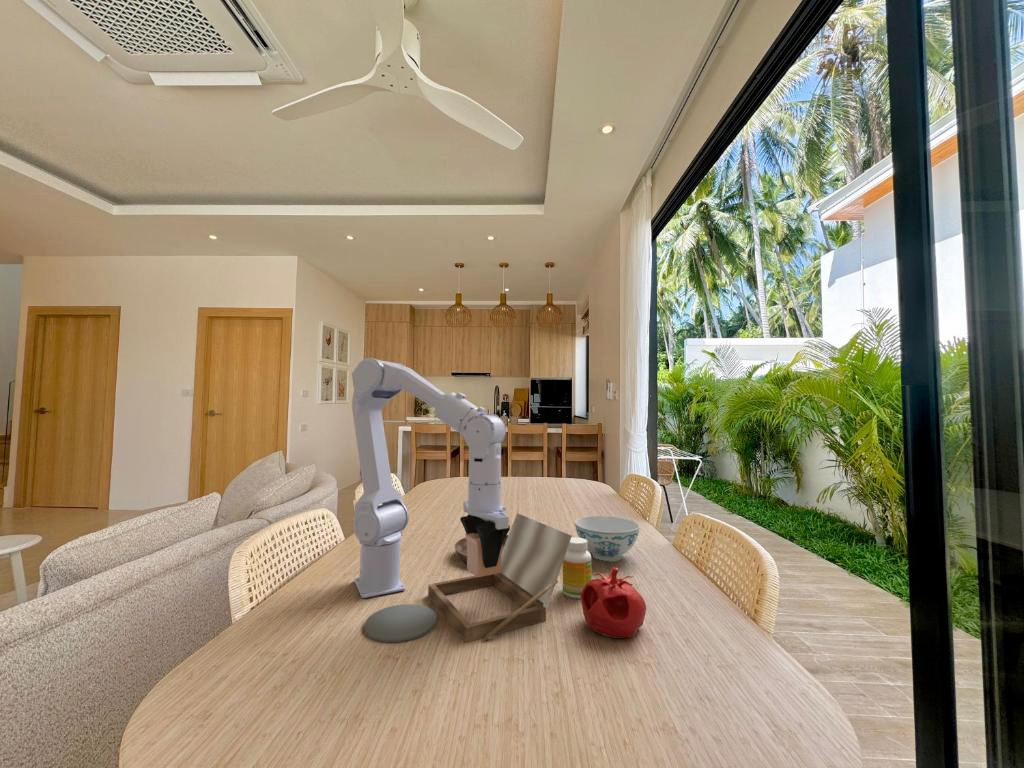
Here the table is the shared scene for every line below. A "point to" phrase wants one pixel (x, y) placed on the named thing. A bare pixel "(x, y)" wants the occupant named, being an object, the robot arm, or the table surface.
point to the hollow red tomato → (613, 606)
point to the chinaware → (607, 535)
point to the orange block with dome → (478, 557)
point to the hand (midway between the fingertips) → (483, 561)
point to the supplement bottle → (576, 567)
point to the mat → (400, 623)
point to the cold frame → (512, 580)
